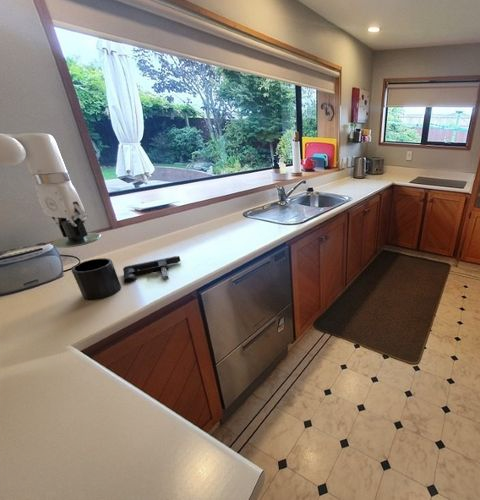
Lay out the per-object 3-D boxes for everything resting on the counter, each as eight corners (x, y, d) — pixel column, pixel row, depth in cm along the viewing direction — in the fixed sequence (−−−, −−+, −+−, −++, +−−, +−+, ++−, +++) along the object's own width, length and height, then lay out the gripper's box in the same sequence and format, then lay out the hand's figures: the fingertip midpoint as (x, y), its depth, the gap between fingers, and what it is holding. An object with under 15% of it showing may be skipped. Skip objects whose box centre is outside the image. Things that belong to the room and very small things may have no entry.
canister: (80, 304, 94) (66, 275, 89) (88, 289, 102) (76, 261, 97) (118, 297, 99) (107, 268, 94) (123, 283, 107) (114, 256, 102)
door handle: (184, 269, 113) (178, 253, 124) (122, 284, 102) (122, 264, 113) (185, 276, 114) (180, 259, 125) (124, 291, 103) (124, 271, 115)
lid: (47, 252, 84) (36, 229, 81) (60, 239, 93) (51, 218, 90) (96, 245, 89) (88, 224, 86) (105, 233, 98) (97, 213, 95)
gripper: (13, 179, 80) (41, 238, 88) (61, 182, 78) (85, 243, 85) (43, 174, 87) (67, 230, 95) (88, 178, 84) (109, 234, 92)
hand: (75, 235), depth 90 cm, fingers closed on lid, 4 cm apart
